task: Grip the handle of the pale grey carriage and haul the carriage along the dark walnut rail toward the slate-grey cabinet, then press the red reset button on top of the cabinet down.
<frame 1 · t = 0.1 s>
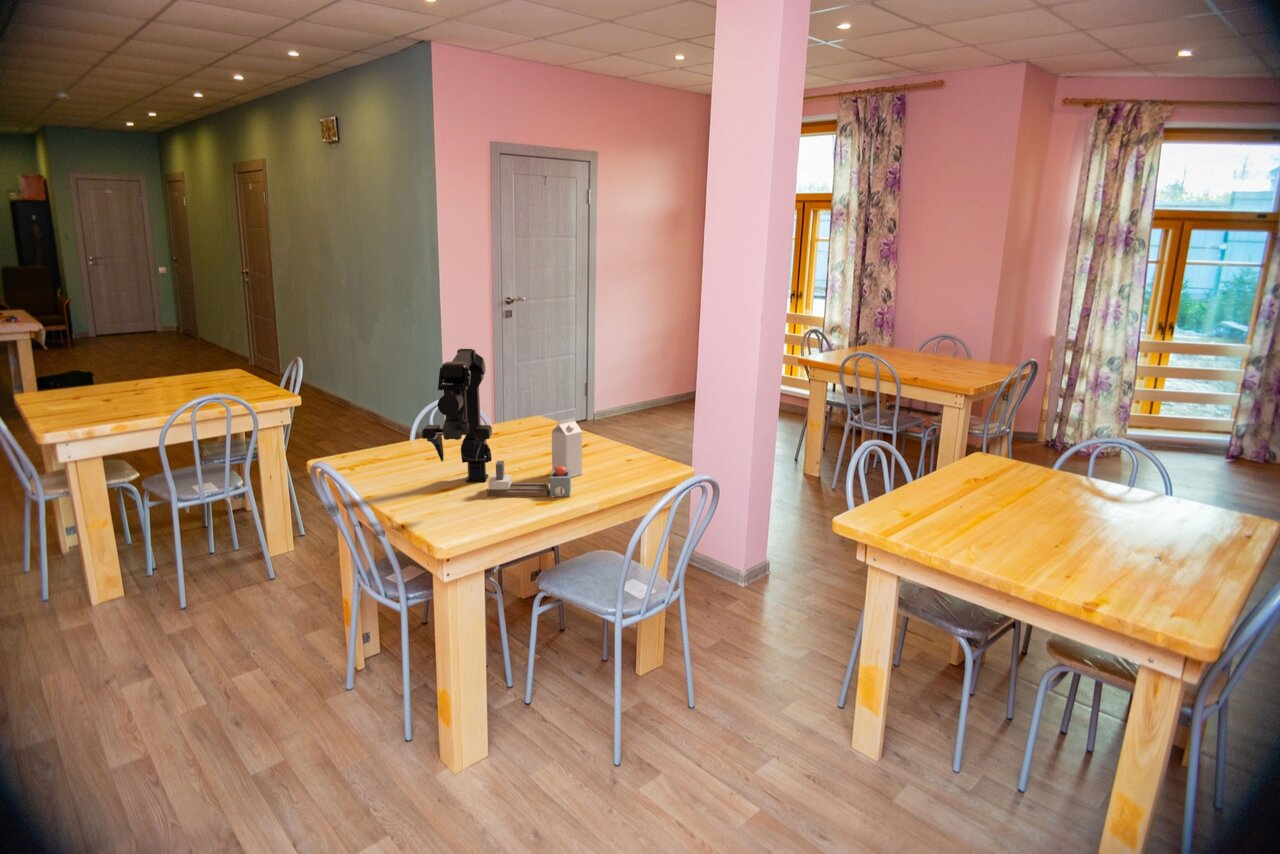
hand: (458, 461, 217), 15 cm above the table, tool pointing down, fingers open, 9 cm apart
rail: (518, 492, 236), on the table
reset button: (560, 472, 234), point 6 cm above the table, slide at 0.0 cm
milk carton: (567, 475, 254), on the table
end cabinet: (560, 492, 236), on the table
carriage: (500, 474, 234), point 6 cm above the table, slide at 0.0 cm
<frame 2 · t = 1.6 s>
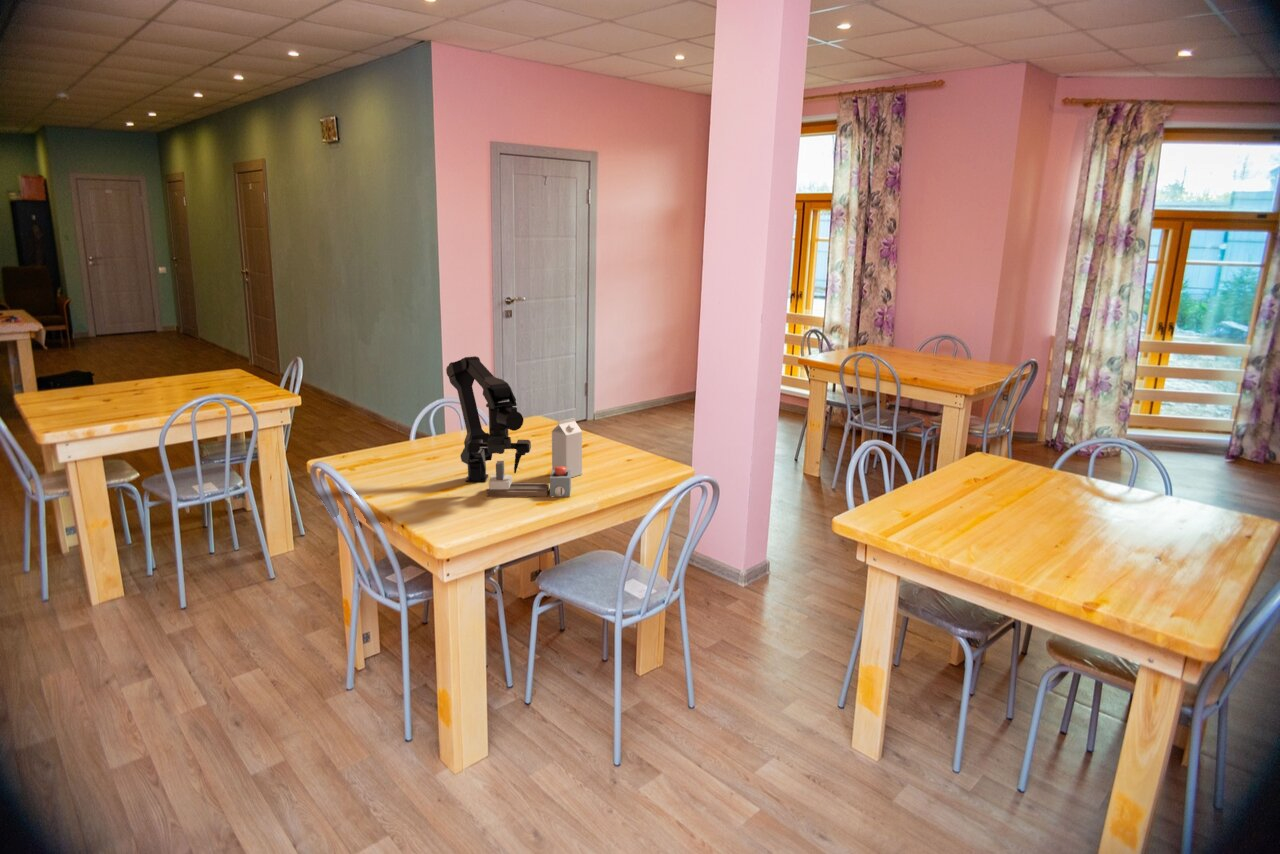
hand: (500, 472, 234), 6 cm above the table, tool pointing down, fingers open, 9 cm apart
nothing on the table moved.
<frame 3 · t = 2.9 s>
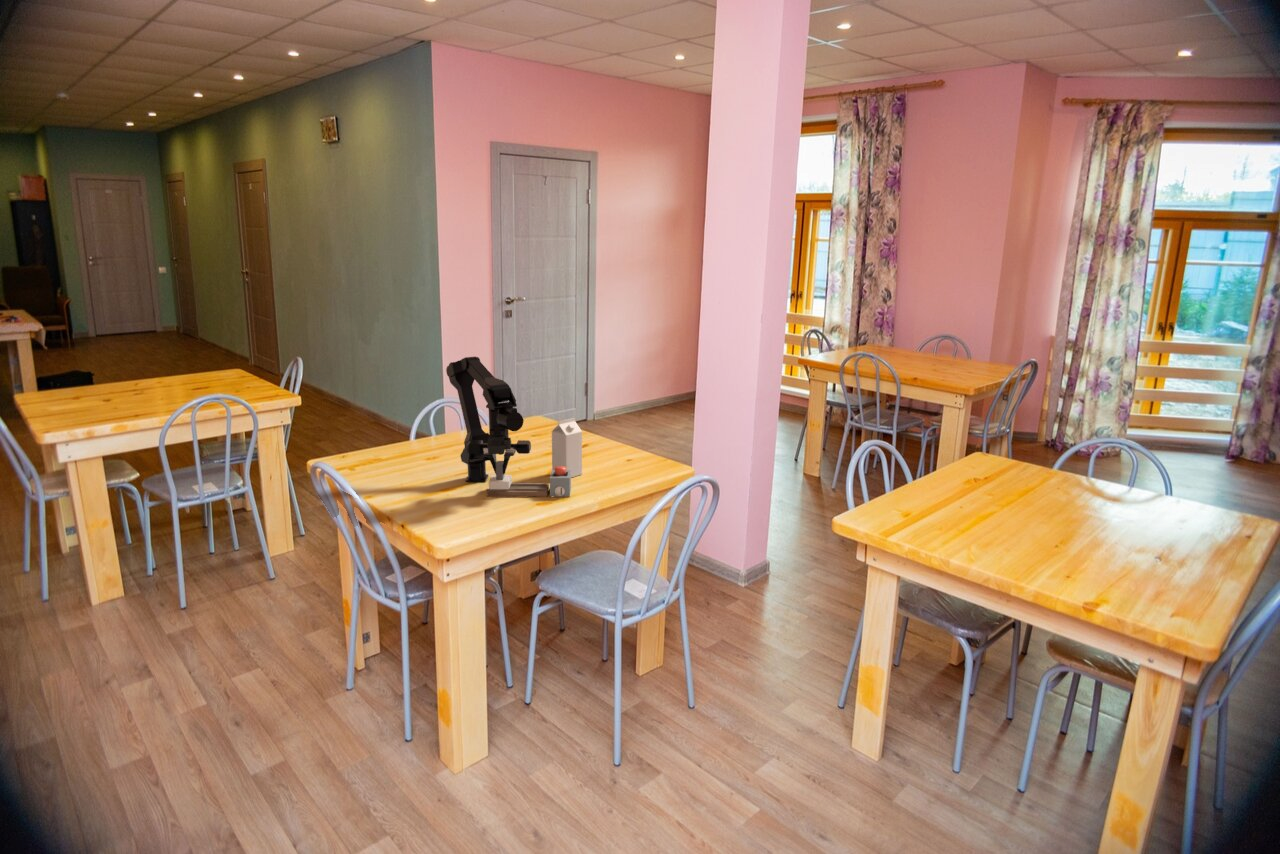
hand: (500, 473, 234), 6 cm above the table, tool pointing down, fingers closed on carriage, 2 cm apart
carriage: (500, 474, 234), point 6 cm above the table, slide at 0.0 cm, touching gripper
everything else where it was.
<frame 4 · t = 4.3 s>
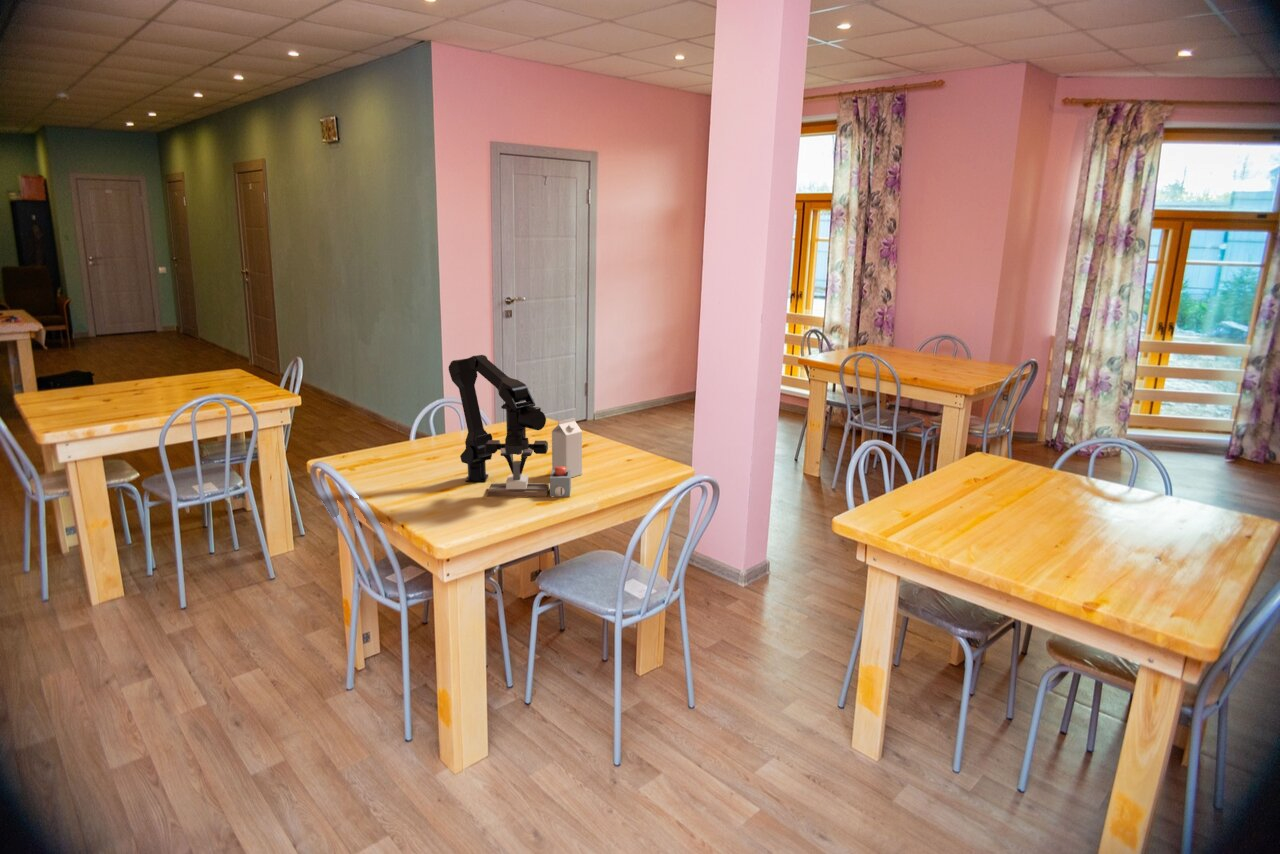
hand: (517, 473, 234), 6 cm above the table, tool pointing down, fingers closed on carriage, 2 cm apart
carriage: (517, 474, 234), point 6 cm above the table, slide at 5.2 cm, touching gripper
everything else where it was.
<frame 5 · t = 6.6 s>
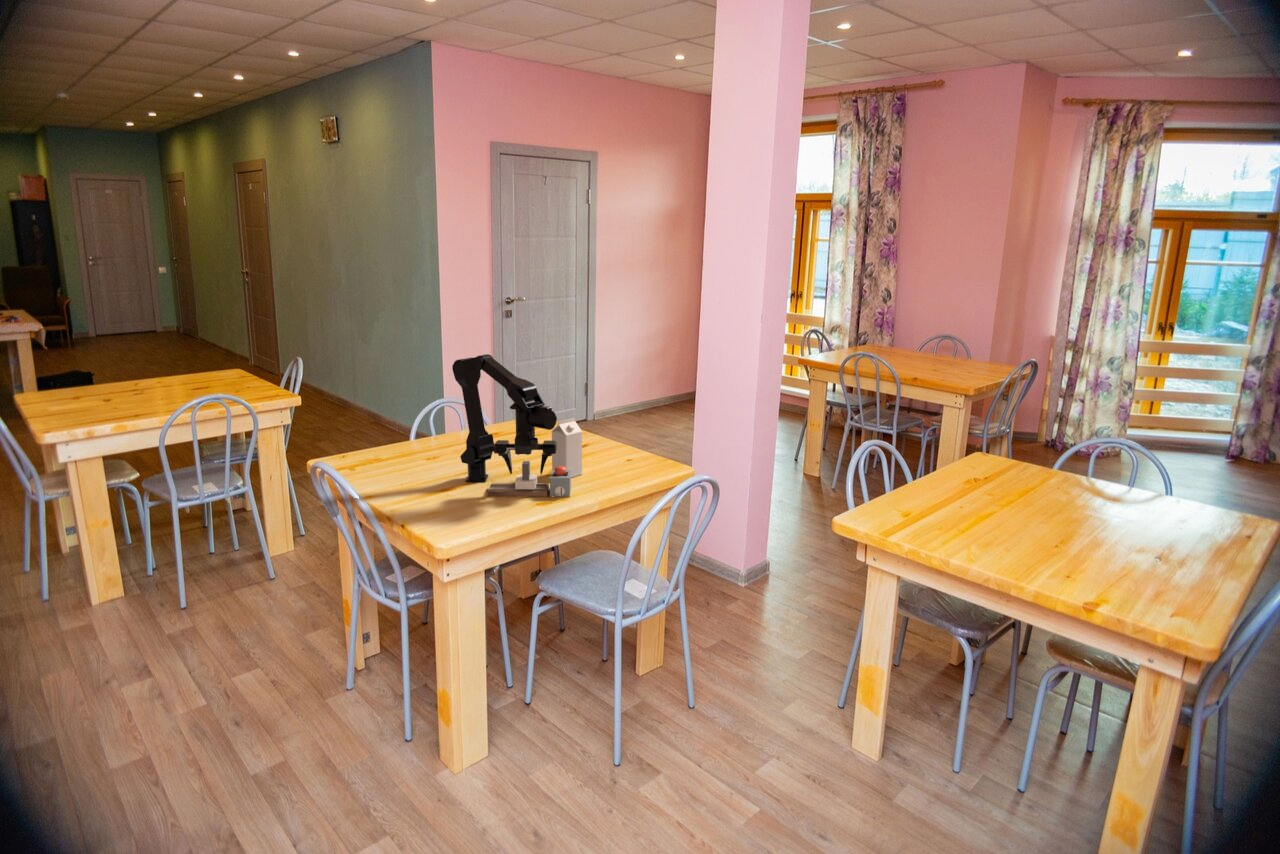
hand: (526, 473, 234), 6 cm above the table, tool pointing down, fingers open, 9 cm apart
carriage: (526, 474, 234), point 6 cm above the table, slide at 7.9 cm
everything else where it was.
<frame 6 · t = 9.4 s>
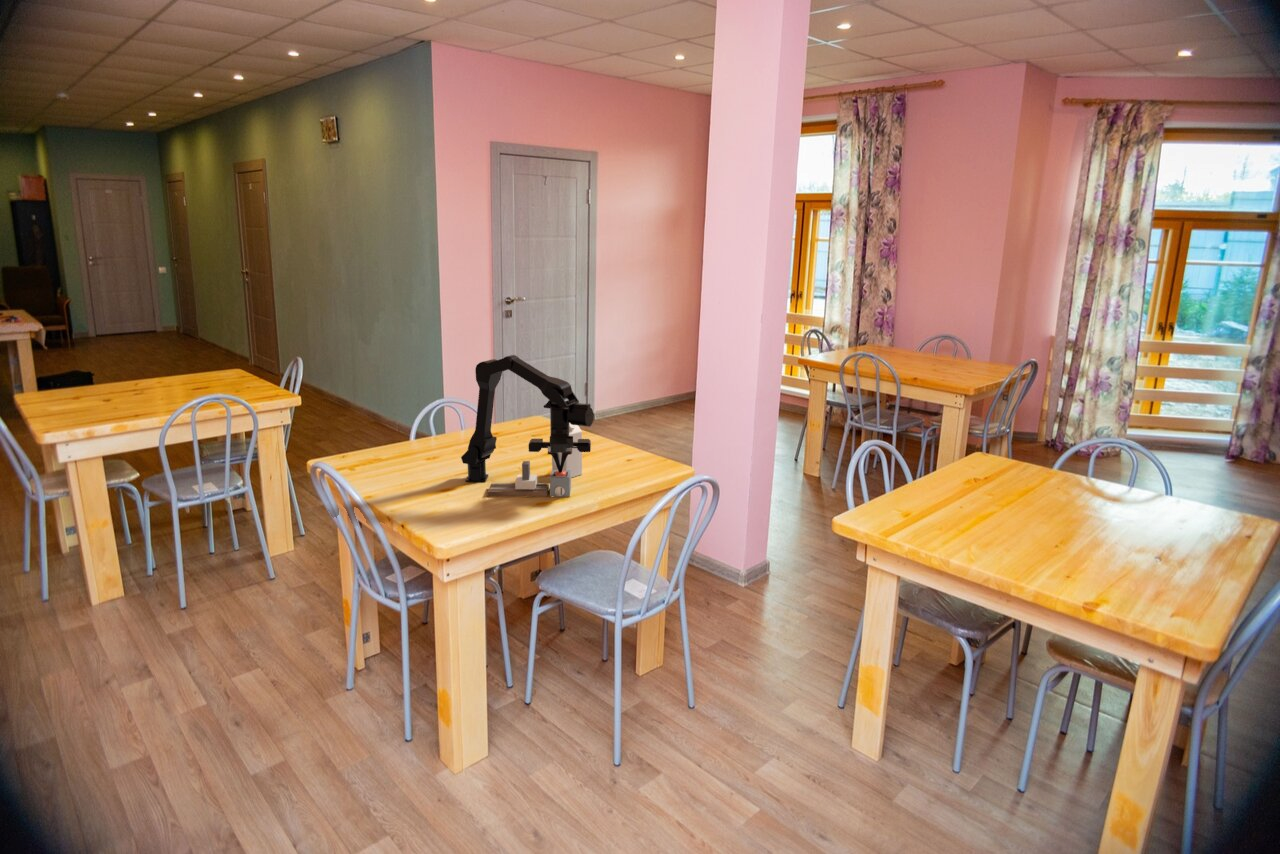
hand: (560, 472, 234), 7 cm above the table, tool pointing down, fingers closed, pressing on reset button
reset button: (560, 476, 235), point 5 cm above the table, slide at 1.4 cm, touching gripper
everything else where it was.
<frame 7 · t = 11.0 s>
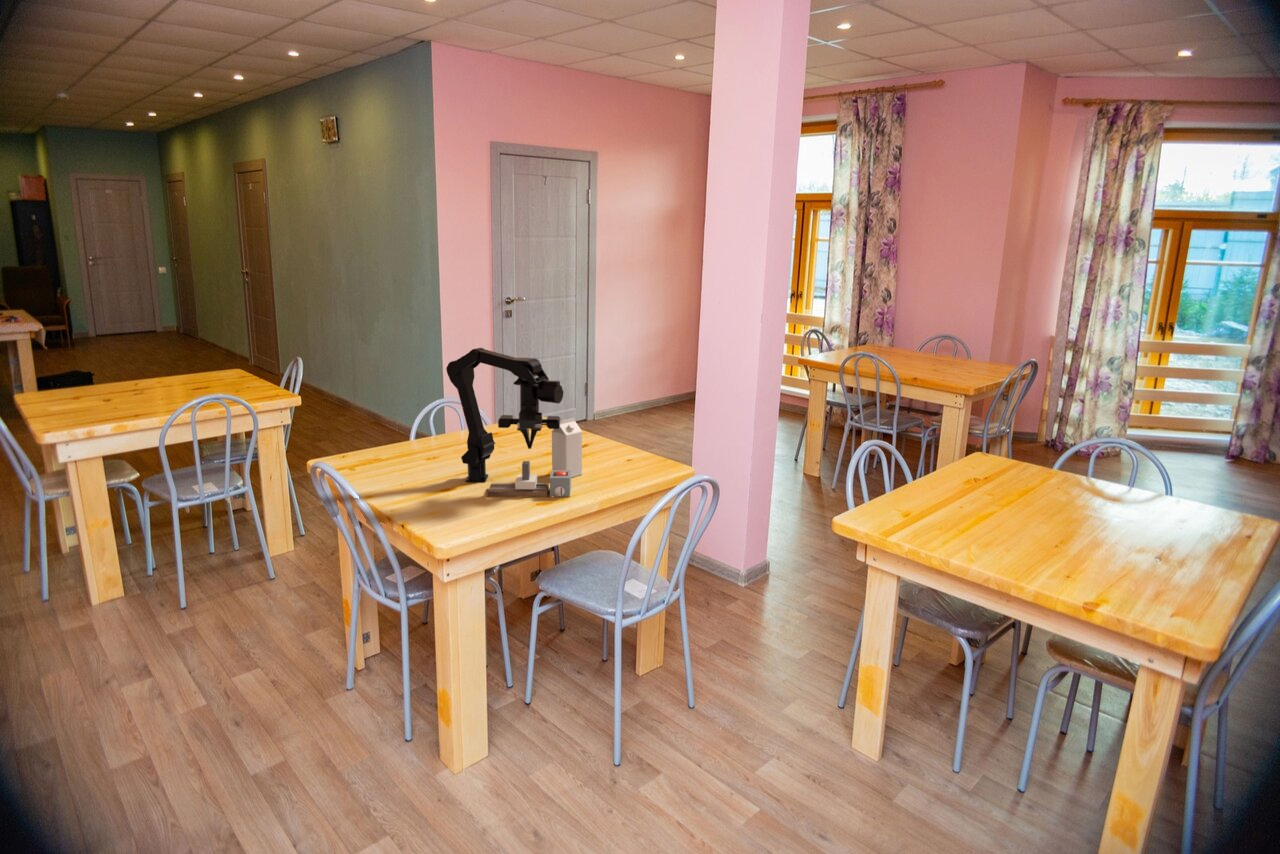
hand: (529, 448, 237), 13 cm above the table, tool pointing down, fingers closed
reset button: (560, 477, 235), point 5 cm above the table, slide at 1.5 cm
everything else where it was.
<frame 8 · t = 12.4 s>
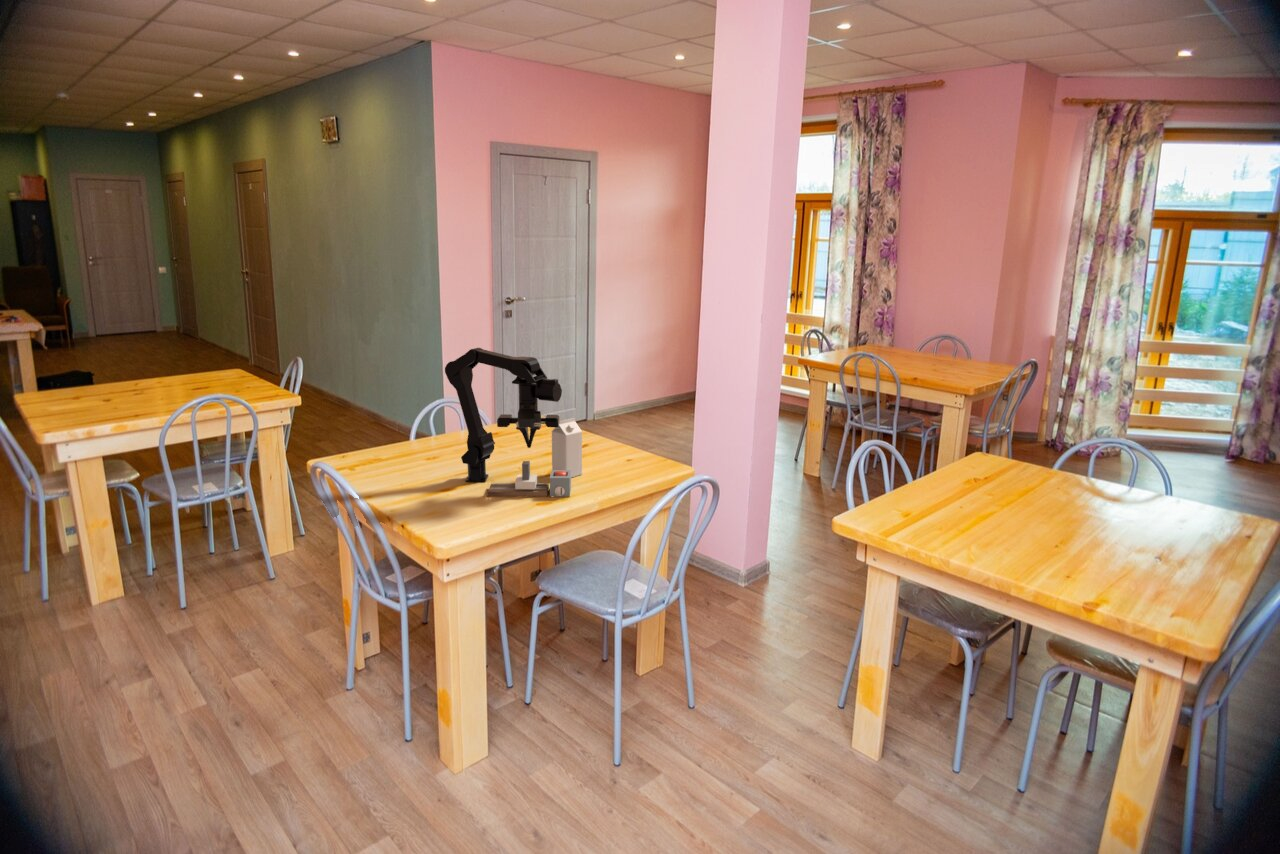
hand: (529, 447, 237), 13 cm above the table, tool pointing down, fingers closed
nothing on the table moved.
at the end: carriage slide at 7.9 cm; reset button slide at 1.5 cm; milk carton moved 0.2 cm from its start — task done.
